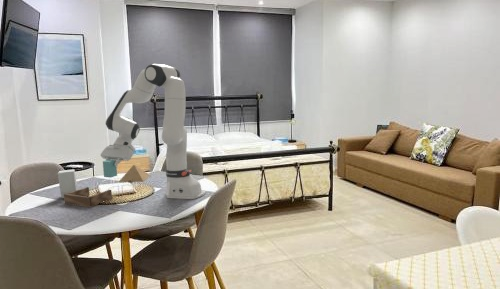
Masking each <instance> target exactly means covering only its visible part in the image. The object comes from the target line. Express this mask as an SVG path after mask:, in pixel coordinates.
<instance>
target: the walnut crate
mask: <svg viewBox="0 0 500 289" xmlns="http://www.w3.org/2000/svg"><path fill="white" fill-rule="evenodd" d="M89 195H90V187H89V186H86V187H83V188H80V189H78V190H76V191H73V192H70V193H67V194H64V198H63V200H64V204H67V205H71V206H72V205H73V206H79V207H85V208H91V207H95V206H97V205H99V203H100V204H102V203H104V202H103V201H105V202H107V201H106V200H108V201H110V200H112V199H113V194H112V189H108V190H105V191H102V192H100V193H96V194H93V195H90V196H89ZM87 196H88V197H87ZM109 199H110V200H109ZM101 202H102V203H101Z"/></svg>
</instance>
